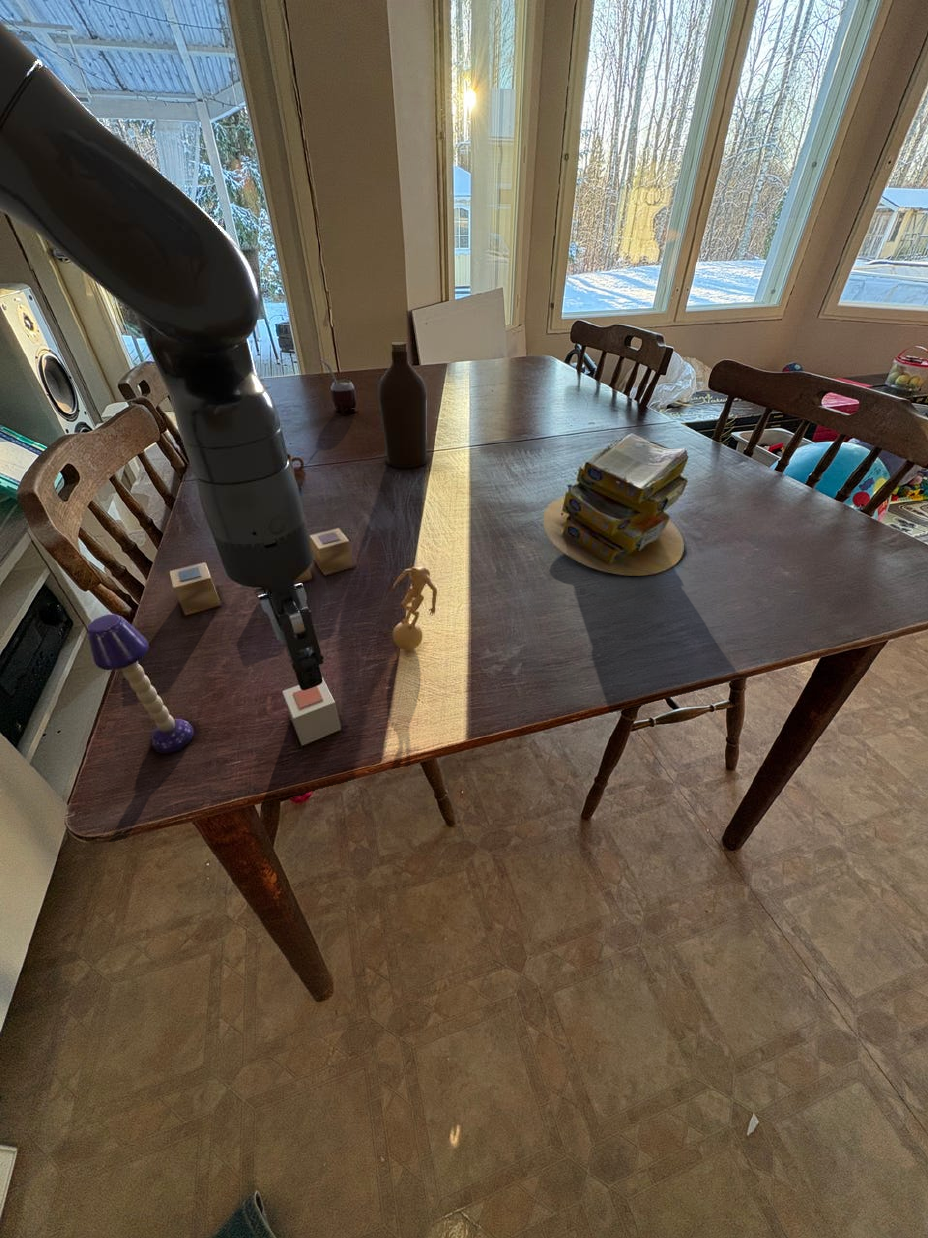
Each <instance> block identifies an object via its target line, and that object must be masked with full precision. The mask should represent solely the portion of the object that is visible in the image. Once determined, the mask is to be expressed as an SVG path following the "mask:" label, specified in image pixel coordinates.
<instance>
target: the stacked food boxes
mask: <svg viewBox="0 0 928 1238" xmlns="http://www.w3.org/2000/svg"><path fill="white" fill-rule="evenodd" d="M614 444H615V445H614ZM688 460H689V455H688V451H687V449H686V448H676V449H675V448H673V449H672V448H670V447H667V446H665V445H663V444H660V443H658V442H655V441H651V440H649V439H646V438H645V437H641V436H639V435H637V434H635V433H634V432H632V433H629V434H627V436H625V437H624V438H621V439H619V440H616V441H613V442H612V443H609V444H608V445H607V446H606V448H604V449H603V450H601V451H599V452H597V453H596V454H595V455H593V456H591V457H589V458H587V460H586V461H585V463H584V464H582V465H580V466H579V467H578V468H579V469H578V472H577V471H575V473H574V474H577V476H576V482H577V483H576V484H574V485H572V484H566V486H567V489H568V490H567V492H565V494H564V495H562V496H560V497H557V498H556V499H554V500H553V501H552V502H550V503H549V504H548V506H546V507H545V510H544V512H543V515H542V525H543V530H544V531H545V534H546V536H547V537H548V539H549V540H550V541H551V542H552V544H553V545H554V546H556V548H558V550H560V551H561V553H563V554H565V555H566V556H568V557H569V558H570V559H573V560H574V561H576V562H578V563H580V564H583V565H584V566H587V567H589V568H591V569H595V570H597V571H600V572H605V573H609V574H614V575H620V576H628V577H629V576H631V577H636V576H638V577H640V576H650V575H656V574H659V573H662V572H665V571H667V570H669V569H671V568H672V567H674V566H675V565H676V564H677V563H678V562H679V561H680V560H681V558H682V557H683V554H684V550H685V543H684V539H683V536H682V534H681V532H680V530H679V529H678V527H677V526H676V525H675V524H674V523H673V522H672V521H671V520H670V518H671V517H670V515H669V514H668V513H667V512H665V511H666V510H668V509H669V508H671V506H673V505H674V504H675V503H676V502H677V501H678V500H679V499H680V496H682V495H683V494H684V491H685V489H686V487H687V484H688V482H689V481H688V478H686V477H683V476H682V474H683V473H684V470H685V468H686V466H687V465H686V464H687V463H688Z"/></svg>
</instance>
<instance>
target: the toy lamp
mask: <svg viewBox="0 0 928 1238" xmlns="http://www.w3.org/2000/svg"><path fill="white" fill-rule="evenodd" d="M86 634H87V638H88V642H89V647H90V652H91V655H92V659H93V662H94V664H95V665H96V666H97V667H98V668H99V669H101V670H103V671H116V670H117V671H118V670H122V674H123V677H124V678H125V679H126V681H128V682H129V686H130V688H131V689H132V690H133V691H134V692H135V694H136V697H137V699H138V700H139V702H141V703H142V706H143V708H144V710H145V711H147V712H148V714H149V717H150V719H151V720H152V721H153V722H155V726H156V727H155V729H154V731H153V733H152V735H151V745H152V748H153V749H154V750H155V751H156V752H158V753H161V754H170V753H174V752H176V751H179V750H181V749H182V748H184V747H185V746H186V745H187V744H188V743H189V742H190V741H191V739H192V738H193V736H194V733H195V732H194V728H193V727H194V726H193V725H192V724H191V723H189V722H188V721H187V720H185V719H181V718H173V716H172V715H171V714H170V712H169V710H168V708H167V706H166V705H164V702H163V701H164V700H163V699H162V698H161V696H160V695H158V693H157V692H158V691H157V690H156V688H155V687H154V686H153V685H152V684H151V680H150V678H149V677H148V676H147V675H146V674H145V670H144V668H143V666H141V665H140V664H139V661H140V660H141V659H142V658H143V657H144V656H146V654H147V652H148V650H149V642H148V639H146V637H145V636H144V635H143V634H141V633H140V632H139V631H138V630H137V629H136V628H135V627H134V626H133V625H132V624H131V623H130V622H128V621H127V620H126V619H125V618H124V617H123V616H121V615H119V614H115V613H112V614H111V613H110V614H104V615H101V616H99V617H96V618H95V619H94V620H92V621H91V622H90V623H88V625H87V628H86Z"/></svg>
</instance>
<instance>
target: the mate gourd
mask: <svg viewBox="0 0 928 1238" xmlns="http://www.w3.org/2000/svg"><path fill="white" fill-rule="evenodd" d="M318 360H319V361H321V362H322V363H323V364H324V365H325V366H326V367H327V369H328V371H329V373H330V375H331V378H332V379H333V381H334V382H332V384H331V387H330V395H331V399H332V402H333V405H334V407H335V410H334V411H335V412H336V413H341V416H345V415H346V414H347V413H357V409H356V407H357V392H356V389H355V386H354V384H353V383H352V382H351V381H350V380H336V377H335V375H334V373H333V370H332V367H331V366H330V365H329V364H328V363H327V362H326V361H324V360H323V359H321V358H319V359H318ZM336 407H337V408H336ZM351 408H355V409H351ZM346 409H347V410H346Z"/></svg>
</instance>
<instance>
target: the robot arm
mask: <svg viewBox="0 0 928 1238" xmlns="http://www.w3.org/2000/svg"><path fill="white" fill-rule="evenodd" d="M42 63H43V62H42V61H41V59H39V58H38V56H36V55H35V53H33V52H32V51H31V50H30V49H29V48H28V47H27V46H26V45H25V44H24V43H23V42H22V41H21V40H20V39H19V38H18V37H17V36H16V35H15V34H14V33H13V32H12V31H11V30H9V29H8V28H7V26H6V25H4V23H3V22H1V21H0V211H1V212H2V213H4V214H5V215H7V216H8V217H10V218H11V219H12V220H15V221H16V222H18V223H19V224H20V225H22V226H24V227H26V228H27V229H29V230H31V231H32V232H34V233H36V234H37V235H39V236H40V237H41V238H42V239H44V240H45V241H46V242H47V243H49V244H50V245H51V246H52V247H53V248H55V249H56V250H57V251H59V253H60V254H62V255H63V256H64V257H66V258H67V259H68V260H69V261H70V262H71V263H73V264H74V265H75V266H76V267H78V268H79V269H80V270H81V271H82V272H83V273H85V274H86V275H87V276H88V277H90V278H91V279H92V280H93V281H95V283H97V284H98V285H99V286H100V287H102V288H103V289H104V290H105V291H106V292H107V293H109V294H110V295H111V296H113V297H114V298H115V299H116V300H118V301H119V302H120V303H121V304H122V305H124V306H125V307H126V308H128V310H130V311H131V312H132V313H134V316H135V320H136V321H137V324H138V326H139V329H140V331H141V334H142V336H143V338H144V340H145V343H146V346H147V348H148V350H149V352H150V355H151V357H152V359H153V362H154V364H155V366H156V368H157V371H158V373H159V376H160V377H161V380H162V382H163V384H164V387H165V389H166V391H167V393H168V396H169V400H170V403H171V407H172V411H173V414H174V418H175V422H176V426H177V430H178V433H179V436H180V439H181V442H182V445H183V447H184V450H185V453H186V456H187V458H188V461H189V464H190V467H191V469H192V473H193V476H194V479H195V482H196V487H197V491H198V496H199V500H200V504H201V507H202V510H203V513H204V516H205V519H206V521H207V525H208V527H209V530H210V533H211V535H212V538H213V540H214V542H215V546H216V549H217V552H218V556H219V557H220V559H221V562H222V566H223V568H224V571H225V574H226V575H227V577H228V578H229V579H230V580H231V581H232V582H234V583H235V584H238V585H241V586H243V587H250V588H253V591H254V593H255V596H256V598H258V601H259V604H260V607H261V609H262V611H263V613H264V614H266V616H267V618H268V620H269V623H270V626H271V629H272V631H273V634H274V636H275V640H277V641H278V642H279V643H283V645H284V647H285V650H286V653H287V655H288V657H287V659H288V662H289V663H290V664H291V667H292V670H293V671H294V674H295V678H296V681H297V684H298V685H299V686H300V688H301V690H307V689H310V688H313V687H315V686H318V685H320V684H321V683H322V682H323V679H324V678H323V679H322V677H323V675H322V672H321V668H320V665H323V664H324V655H323V654H322V652H321V648H320V644H319V640H318V637H317V633H316V628H315V624H314V621H313V618H312V617H313V613H312V611H311V610H309V607H308V604H307V601H308V596H307V593H306V590H305V587H304V585H303V582H300V583H298V579H297V578H298V577H299V576H300V575H301V574H303V573H304V572H305V571H306V570H307V569H308V568H309V567H310V568H311V565H312V564H313V561H314V554H313V549H312V545H311V540H310V532H309V529H308V528H309V527H308V523H307V520H306V515H305V511H304V506H303V502H302V497H301V493H300V489H299V487H298V485H297V482H296V479H295V477H294V474H293V472H292V469H291V466H290V463H289V460H288V455H287V454H288V452H287V446H286V442H285V437H284V434H283V431H282V430H283V429H282V425H281V421H280V418H279V414H278V411H277V407H276V405H275V402H274V399H273V397H272V396H271V394H270V392H269V390H268V389H267V387H266V386H265V384H264V383H263V381H262V379H261V378H260V376H259V373H258V370H257V367H256V365H255V359H254V357H253V352H252V347H251V345H250V340H249V337H250V336H251V335H252V333H253V332H254V330H255V327H256V325H257V323H258V320H259V315H260V308H261V299H260V290H259V286H258V283H257V282H258V281H257V279H256V276H255V273H254V270H253V269H252V266H251V264H250V263H249V261H248V259H247V257H246V255H245V254H244V252H243V251H242V249H241V248H240V247H239V246H238V244H237V243H236V241H235V240H234V239H233V238H232V237H231V236H230V235H229V234H228V233H227V232H226V231H225V230H224V228H222V226H220V225H219V224H218V222H216V221H215V220H214V219H213V218H212V217H211V216H210V215H209V214H208V213H207V212H206V211H205V210H204V209H203V208H202V207H200V206H199V205H198V204H197V203H196V202H195V201H194V200H193V199H191V198H190V197H189V196H188V195H187V194H186V193H185V192H184V191H183V190H181V188H179V187H178V186H176V184H174V183H173V182H172V181H171V180H170V179H168V177H166V176H165V175H164V174H163V173H162V172H160V171H159V170H158V169H157V168H156V167H154V166H153V165H152V164H151V163H150V162H149V161H147V160H146V159H145V158H144V157H142V156H141V155H140V154H139V153H138V152H137V151H135V150H134V148H132V147H131V146H129V144H128V143H126V142H124V141H123V140H122V139H121V138H120V137H118V136H117V135H116V134H115V133H113V132H112V131H111V130H110V129H109V128H108V127H106V126H105V125H104V124H103V123H102V122H101V121H99V119H98V118H97V117H96V116H95V115H94V114H92V113H91V111H90V110H89V109H88V108H87V107H86V106H85V105H84V104H83V103H82V102H81V101H80V100H79V99H78V98H77V97H76V96H75V95H74V94H73V92H72V91H71V90H70V89H69V88H68V87H67V86H66V84H64V82H62V80H61V79H60V78H58V76H57V75H56V74H55V73H53V71H52V70H50V68H49V67H48V66H46V65H43V64H42Z"/></svg>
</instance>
